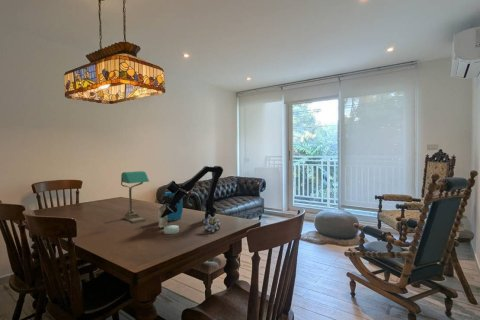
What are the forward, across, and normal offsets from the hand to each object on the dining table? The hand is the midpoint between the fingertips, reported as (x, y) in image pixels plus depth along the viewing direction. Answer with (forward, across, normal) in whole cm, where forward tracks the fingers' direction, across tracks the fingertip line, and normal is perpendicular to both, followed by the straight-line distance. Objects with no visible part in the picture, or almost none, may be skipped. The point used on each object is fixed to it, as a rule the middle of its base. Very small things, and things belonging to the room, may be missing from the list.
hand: (160, 216), depth 175 cm
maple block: (+4, 0, +6) cm, 7 cm away
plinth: (+3, +12, +8) cm, 15 cm away
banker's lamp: (+14, -31, -3) cm, 34 cm away
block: (-4, -16, +15) cm, 22 cm away
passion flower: (-13, +22, +24) cm, 35 cm away
